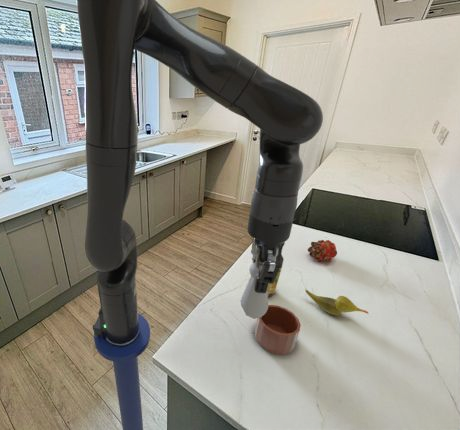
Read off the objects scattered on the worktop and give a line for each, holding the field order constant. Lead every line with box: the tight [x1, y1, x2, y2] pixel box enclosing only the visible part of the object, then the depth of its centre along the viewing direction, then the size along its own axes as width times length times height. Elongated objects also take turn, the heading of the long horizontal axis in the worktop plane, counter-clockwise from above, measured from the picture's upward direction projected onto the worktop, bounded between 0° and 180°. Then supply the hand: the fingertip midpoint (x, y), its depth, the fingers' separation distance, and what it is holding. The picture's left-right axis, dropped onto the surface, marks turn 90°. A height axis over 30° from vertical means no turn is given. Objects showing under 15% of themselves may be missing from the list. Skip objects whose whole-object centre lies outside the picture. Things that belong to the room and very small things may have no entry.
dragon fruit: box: [307, 239, 338, 263], centre depth 97 cm, size 8×8×12 cm
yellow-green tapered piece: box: [304, 289, 370, 316], centre depth 75 cm, size 4×15×6 cm, turn 47°
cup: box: [254, 304, 302, 356], centre depth 68 cm, size 10×10×7 cm
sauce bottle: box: [267, 241, 286, 298], centre depth 80 cm, size 7×6×20 cm
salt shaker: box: [240, 262, 269, 320], centre depth 57 cm, size 6×6×13 cm
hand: (258, 283), depth 56 cm, fingers closed on salt shaker, 4 cm apart
